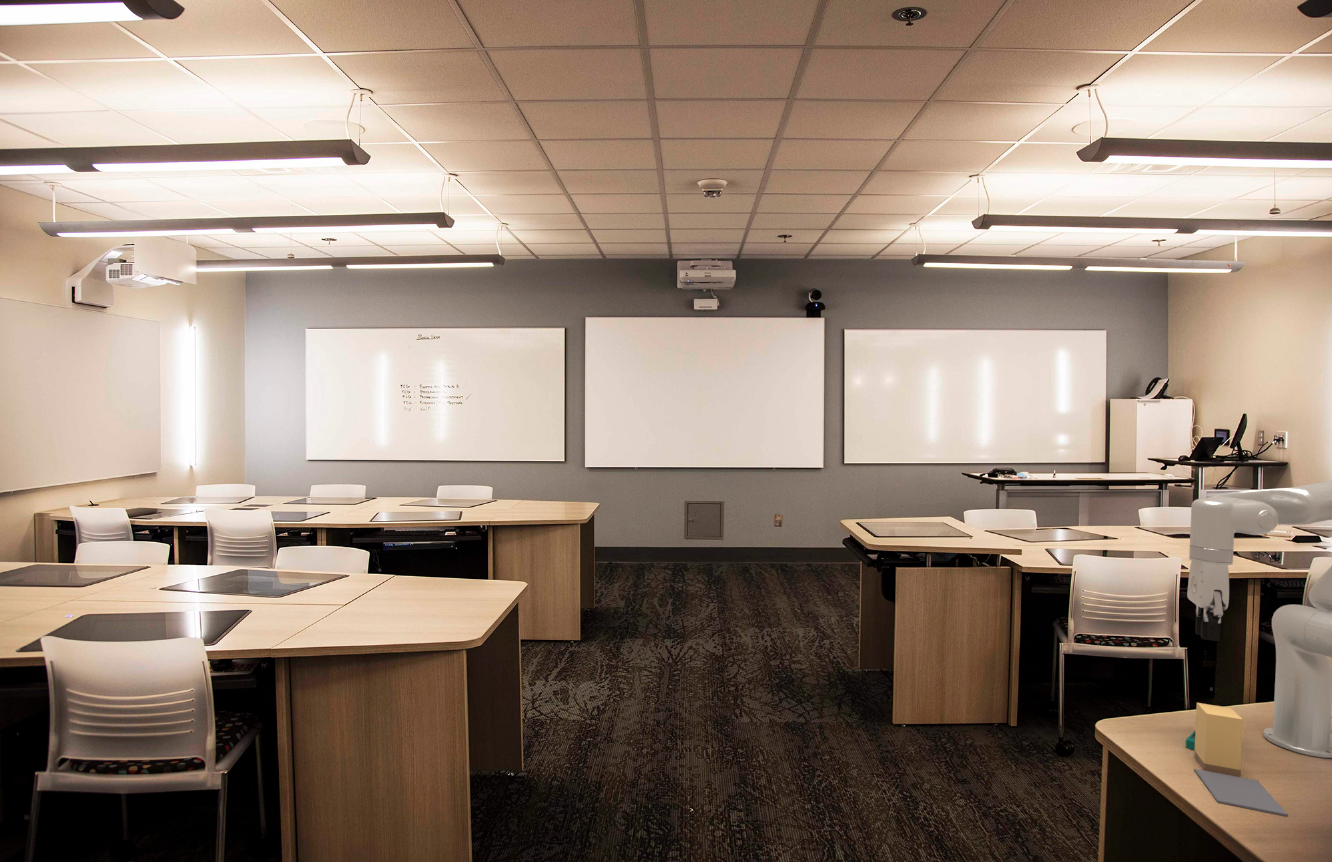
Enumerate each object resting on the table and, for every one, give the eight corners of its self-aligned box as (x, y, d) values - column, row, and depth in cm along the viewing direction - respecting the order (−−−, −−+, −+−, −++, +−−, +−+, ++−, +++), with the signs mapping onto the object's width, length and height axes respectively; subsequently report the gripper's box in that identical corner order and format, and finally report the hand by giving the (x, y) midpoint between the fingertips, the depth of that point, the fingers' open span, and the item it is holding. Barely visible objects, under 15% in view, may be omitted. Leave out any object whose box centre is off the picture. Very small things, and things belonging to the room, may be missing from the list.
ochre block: (1228, 763, 143) (1231, 707, 143) (1240, 777, 138) (1242, 719, 137) (1194, 757, 145) (1196, 702, 145) (1204, 770, 140) (1206, 713, 140)
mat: (1257, 782, 136) (1257, 780, 136) (1288, 816, 124) (1288, 814, 124) (1194, 770, 140) (1194, 768, 140) (1217, 802, 128) (1217, 800, 128)
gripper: (1178, 547, 158) (1175, 625, 158) (1203, 559, 143) (1199, 645, 143) (1218, 550, 155) (1214, 629, 155) (1247, 563, 140) (1243, 651, 140)
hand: (1207, 636), depth 149 cm, fingers open, 2 cm apart
